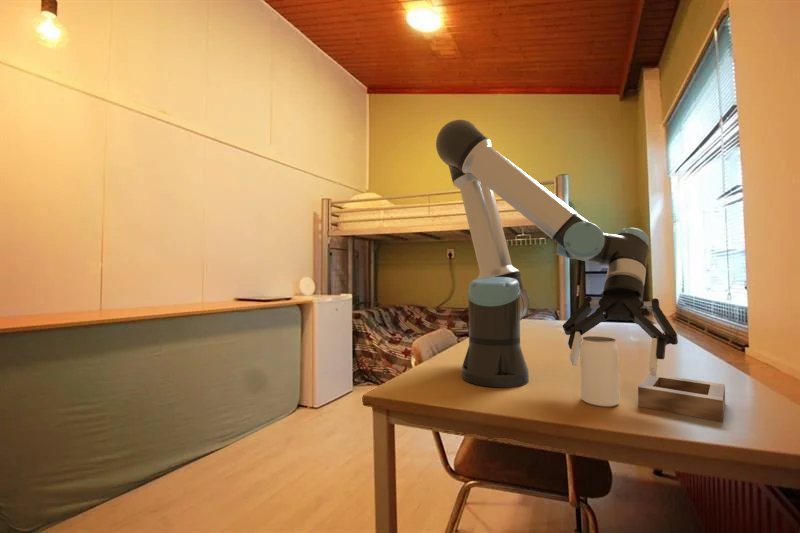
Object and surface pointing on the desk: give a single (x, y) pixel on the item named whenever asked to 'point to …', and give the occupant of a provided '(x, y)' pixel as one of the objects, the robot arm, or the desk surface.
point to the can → (599, 371)
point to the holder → (683, 396)
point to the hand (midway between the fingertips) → (610, 366)
